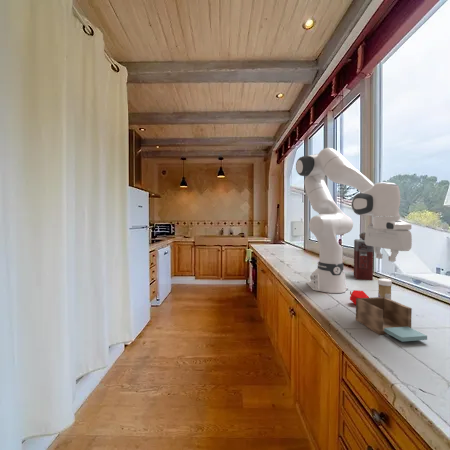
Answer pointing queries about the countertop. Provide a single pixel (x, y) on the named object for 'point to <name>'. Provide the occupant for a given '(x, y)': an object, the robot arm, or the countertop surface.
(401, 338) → the panel
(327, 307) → the countertop surface
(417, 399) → the countertop surface
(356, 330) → the countertop surface
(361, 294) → the apple
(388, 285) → the sprinkles bottle
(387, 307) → the crate
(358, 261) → the toy vending machine
